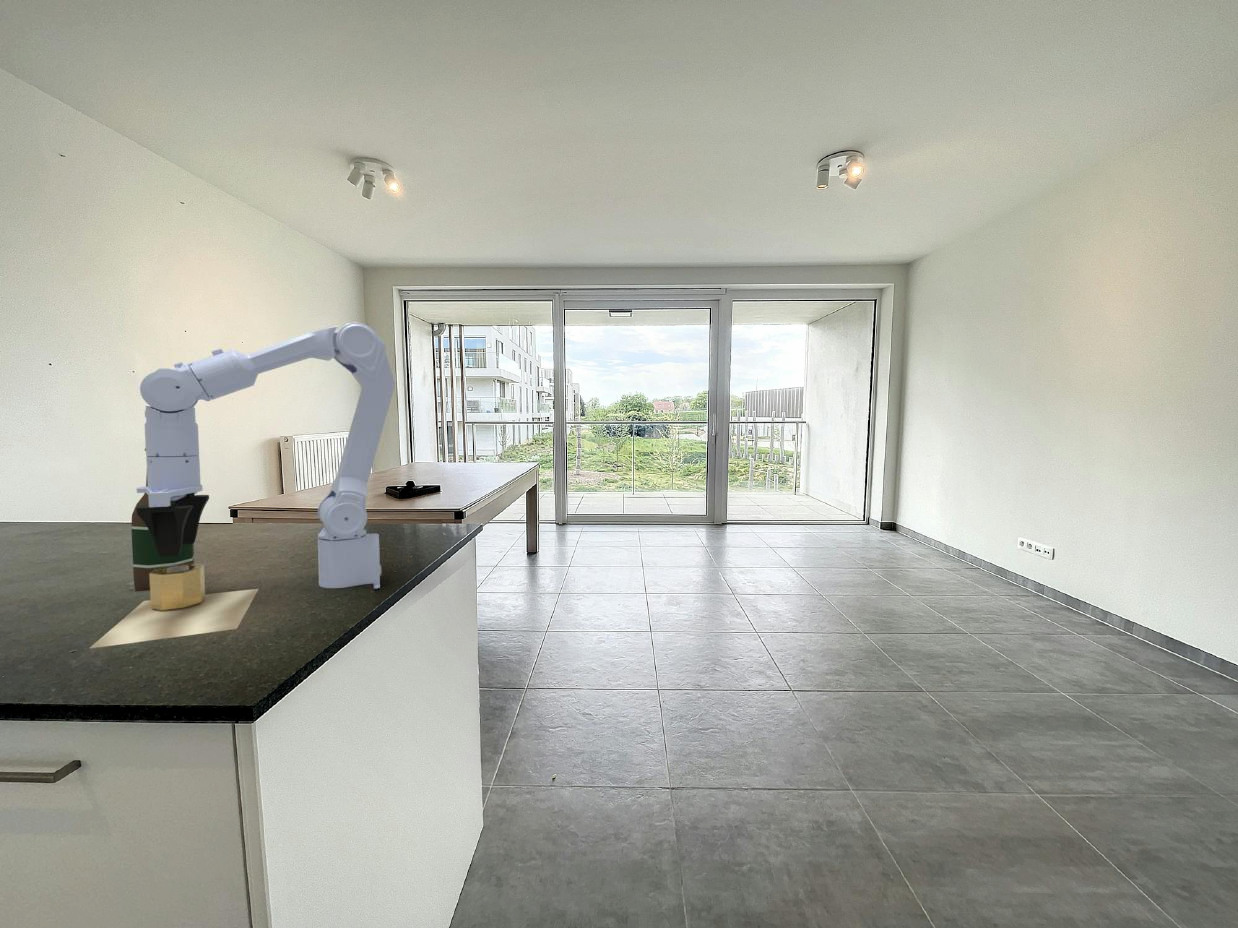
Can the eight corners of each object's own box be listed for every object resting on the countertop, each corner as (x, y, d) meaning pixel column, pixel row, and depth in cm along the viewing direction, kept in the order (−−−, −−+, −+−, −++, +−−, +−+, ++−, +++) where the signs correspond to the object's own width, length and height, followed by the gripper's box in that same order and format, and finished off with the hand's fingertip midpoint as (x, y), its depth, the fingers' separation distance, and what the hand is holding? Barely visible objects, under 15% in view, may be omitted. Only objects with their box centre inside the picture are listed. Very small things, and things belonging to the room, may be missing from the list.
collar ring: (207, 594, 78) (206, 562, 77) (198, 605, 73) (196, 571, 72) (160, 599, 75) (158, 566, 75) (146, 611, 70) (145, 576, 70)
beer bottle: (143, 599, 79) (136, 444, 77) (126, 589, 83) (119, 443, 81) (204, 586, 85) (199, 444, 84) (185, 578, 89) (180, 442, 88)
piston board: (258, 594, 82) (257, 555, 81) (237, 635, 66) (235, 587, 65) (144, 607, 75) (142, 564, 75) (89, 656, 59) (86, 602, 59)
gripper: (154, 453, 77) (158, 541, 78) (114, 459, 64) (120, 564, 65) (212, 453, 80) (215, 537, 81) (186, 458, 68) (190, 558, 69)
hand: (177, 549), depth 73 cm, fingers open, 7 cm apart
